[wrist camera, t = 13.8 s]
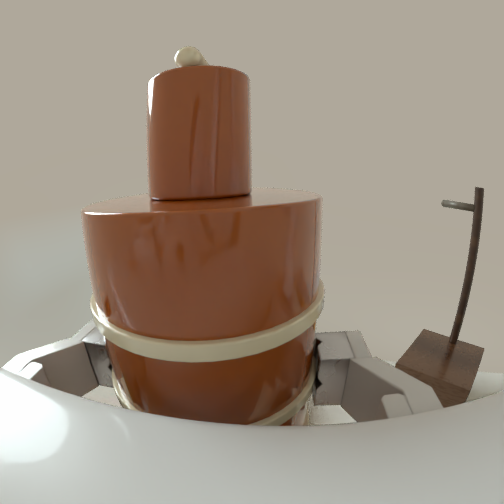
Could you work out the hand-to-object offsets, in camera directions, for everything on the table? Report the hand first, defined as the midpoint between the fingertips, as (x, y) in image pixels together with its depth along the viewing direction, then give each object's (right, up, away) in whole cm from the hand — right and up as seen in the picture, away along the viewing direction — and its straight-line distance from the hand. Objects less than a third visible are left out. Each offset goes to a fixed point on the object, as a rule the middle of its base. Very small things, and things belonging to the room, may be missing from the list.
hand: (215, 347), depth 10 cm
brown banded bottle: (0, -7, +1) cm, 7 cm away
